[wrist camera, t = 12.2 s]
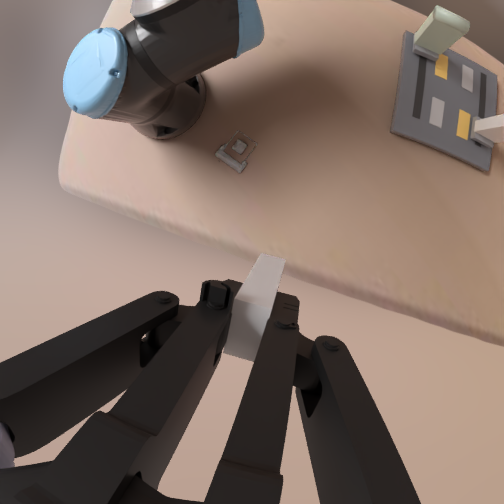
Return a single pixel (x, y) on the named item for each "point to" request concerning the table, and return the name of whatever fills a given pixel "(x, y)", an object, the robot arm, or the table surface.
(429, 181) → the table surface
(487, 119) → the white lever
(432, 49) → the sage lever
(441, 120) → the switch base
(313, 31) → the table surface
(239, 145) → the grey plastic bracket
